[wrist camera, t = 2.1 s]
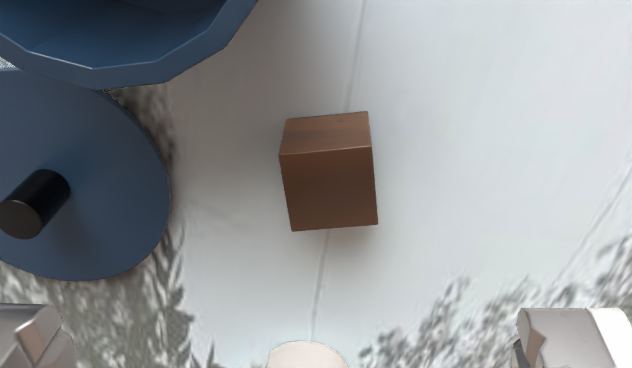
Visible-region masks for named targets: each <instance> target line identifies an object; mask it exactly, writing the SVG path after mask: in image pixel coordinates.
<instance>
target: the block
mask: <svg viewBox="0 0 632 368" xmlns="http://www.w3.org/2000/svg"><path fill="white" fill-rule="evenodd" d="M278 156H279V162H280V168H281V174H282V179H283V185H284V191H285V196H286V202H287V208H288V213H289V219H290V225H291V231H292V232H294V231H306V230H318V229H330V228H342V227H355V226H367V225H377V224H378V216H377V203H376V191H375V179H374V167H373V155H372V144H371V136H370V128H369V119H368V112H367V111H364V112H354V113H345V114H335V115H325V116H315V117H306V118H296V119H287V120H286V123H285V128H284V132H283V137H282V141H281V146H280V150H279V154H278Z"/></svg>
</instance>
